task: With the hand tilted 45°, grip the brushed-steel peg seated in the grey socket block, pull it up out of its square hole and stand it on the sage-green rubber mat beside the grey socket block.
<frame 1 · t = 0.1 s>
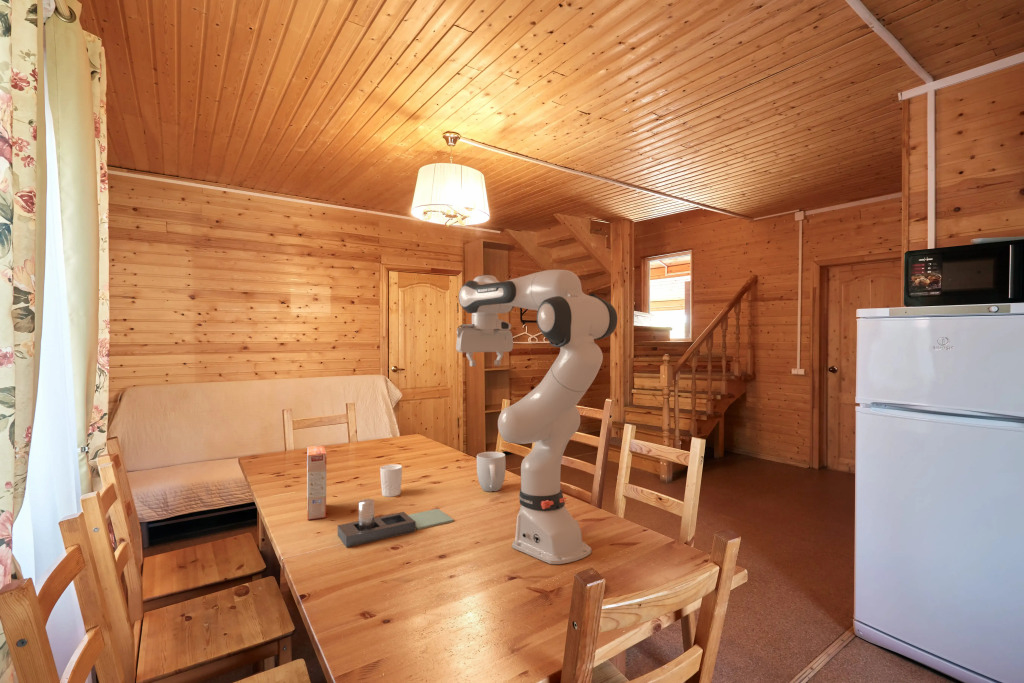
hand: (485, 365, 163), 48 cm above the table, tool pointing down, fingers open, 8 cm apart
mug: (491, 490, 184), on the table
steel peg: (366, 535, 142), resting in grey socket block
mat: (428, 519, 154), on the table
cracker box: (317, 513, 162), on the table
white cup: (391, 494, 181), on the table
grey socket block: (376, 533, 144), on the table
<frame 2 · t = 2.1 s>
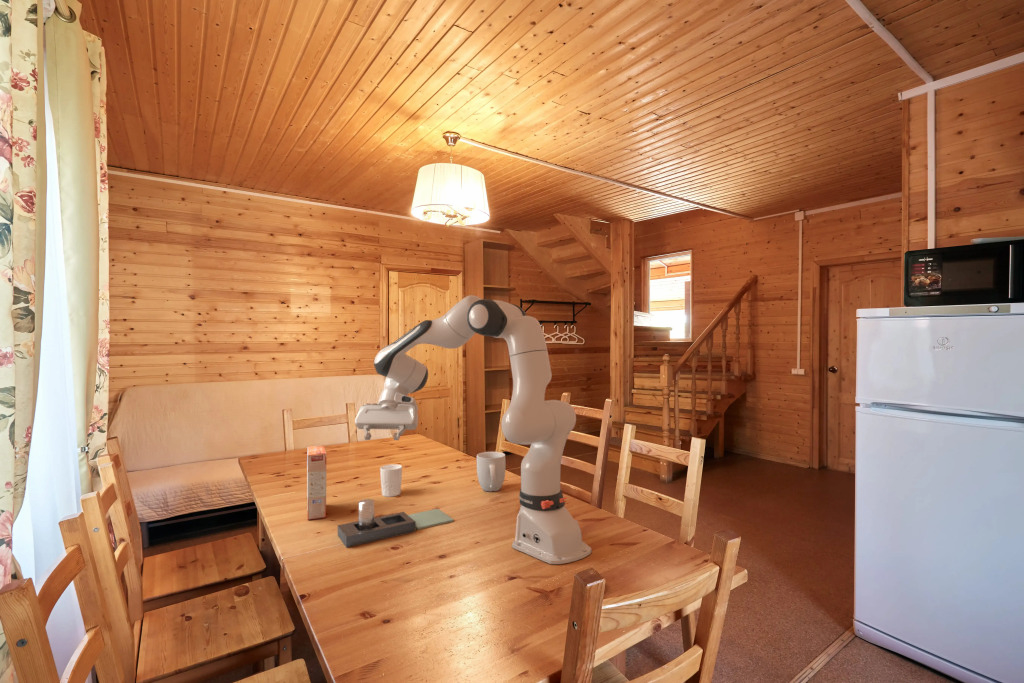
hand: (381, 439, 154), 26 cm above the table, tool tilted 45°, fingers open, 8 cm apart
nothing on the table moved.
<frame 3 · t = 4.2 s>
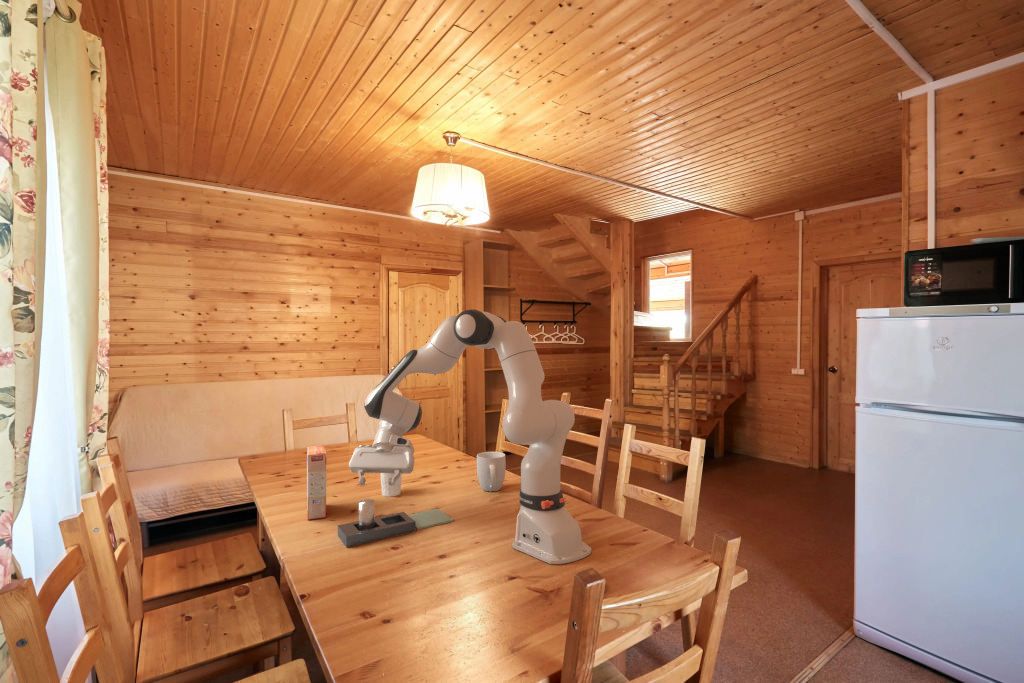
hand: (376, 484, 149), 13 cm above the table, tool tilted 45°, fingers open, 8 cm apart
nothing on the table moved.
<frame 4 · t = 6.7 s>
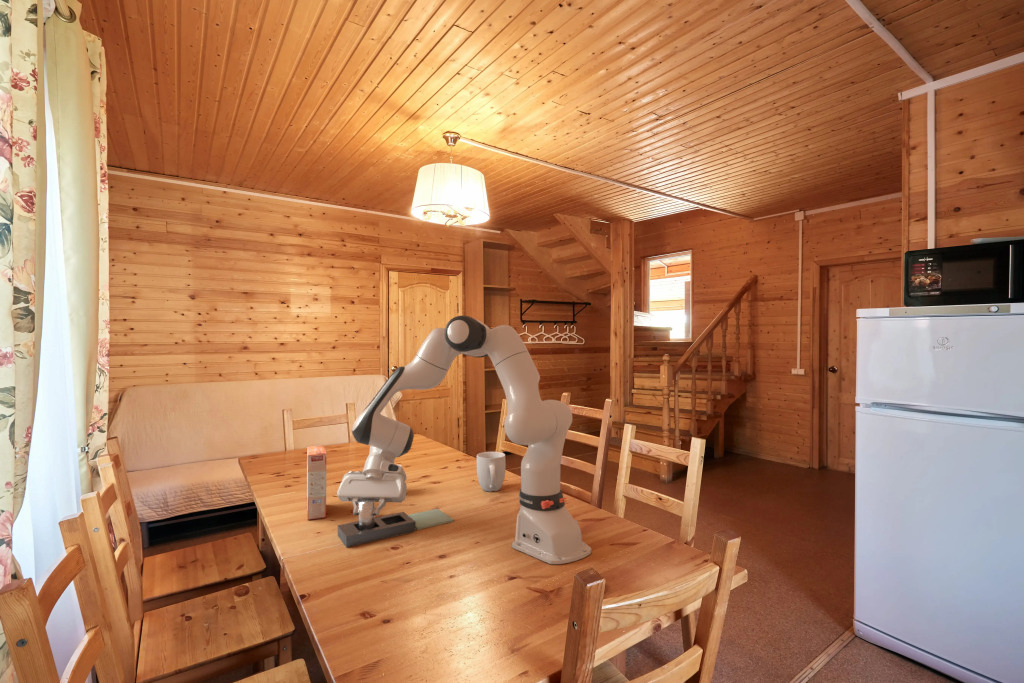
hand: (365, 514, 141), 6 cm above the table, tool tilted 45°, fingers closed on steel peg, 4 cm apart
steel peg: (366, 535, 142), resting in grey socket block, touching gripper
everything else where it was.
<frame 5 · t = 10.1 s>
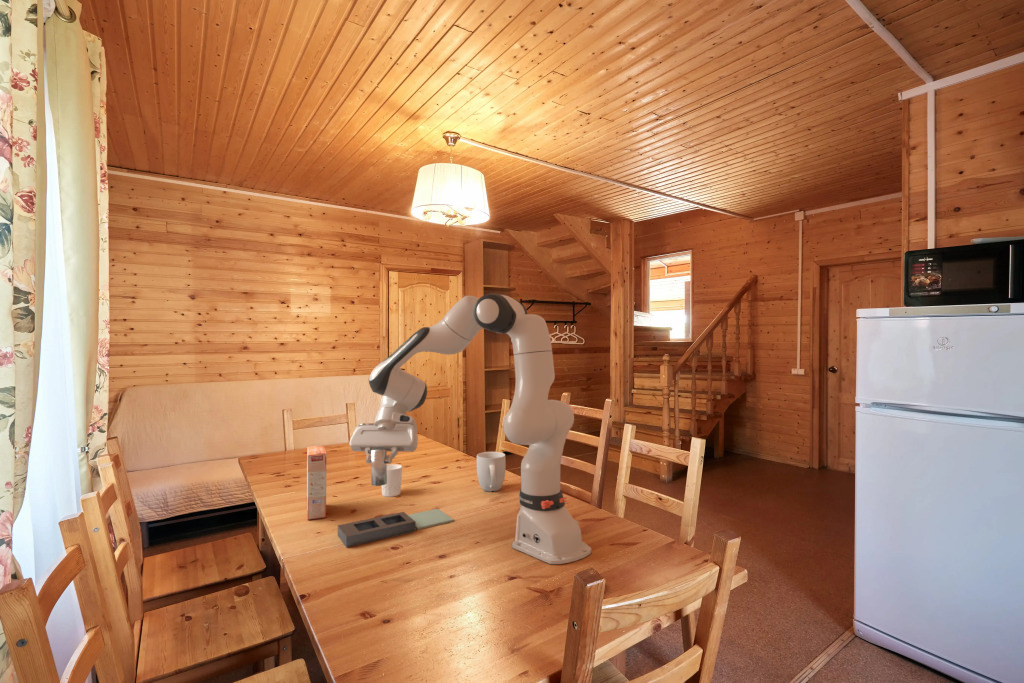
hand: (378, 462, 143), 21 cm above the table, tool tilted 45°, fingers closed on steel peg, 4 cm apart
steel peg: (379, 483, 144), point 15 cm above the table, touching gripper
everything else where it was.
when the fingers open (8 cm above the table, at t = 13.9 s): steel peg drops 1 cm, resting on mat.
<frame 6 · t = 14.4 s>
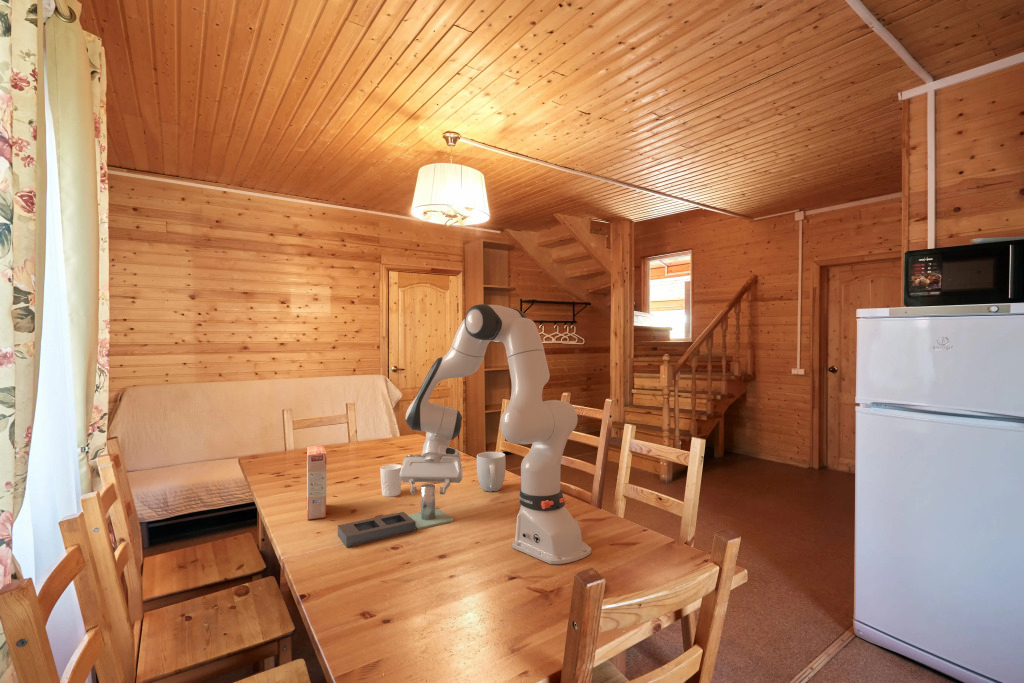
hand: (427, 493, 154), 8 cm above the table, tool tilted 45°, fingers open, 8 cm apart
steel peg: (428, 517, 154), point 1 cm above the table, touching mat
everything else where it was.
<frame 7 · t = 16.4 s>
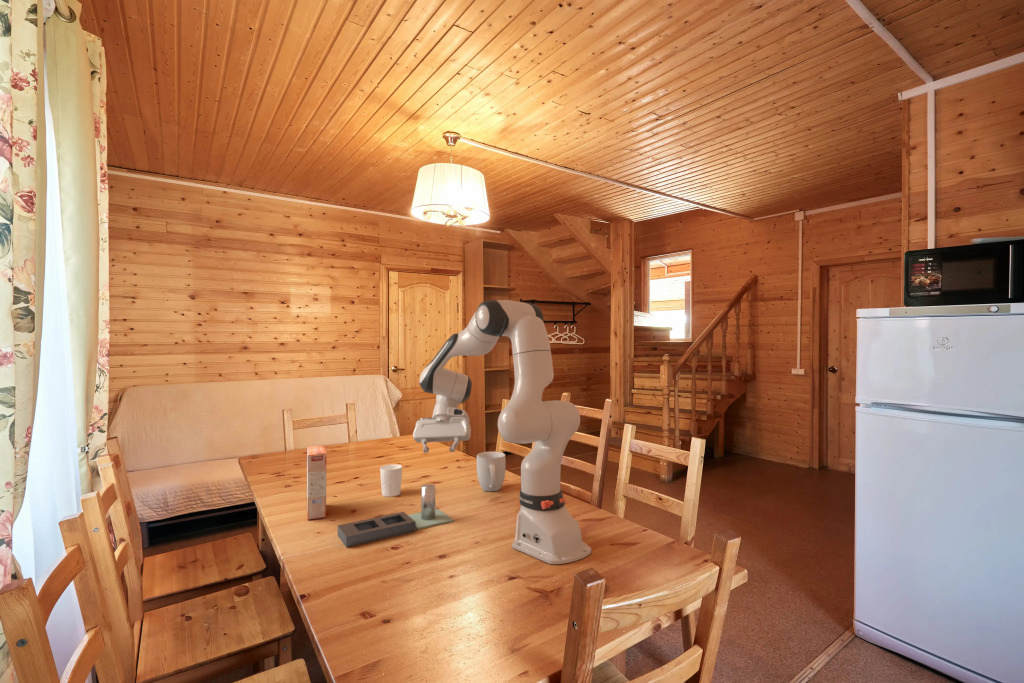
hand: (438, 451, 166), 19 cm above the table, tool tilted 40°, fingers open, 8 cm apart
nothing on the table moved.
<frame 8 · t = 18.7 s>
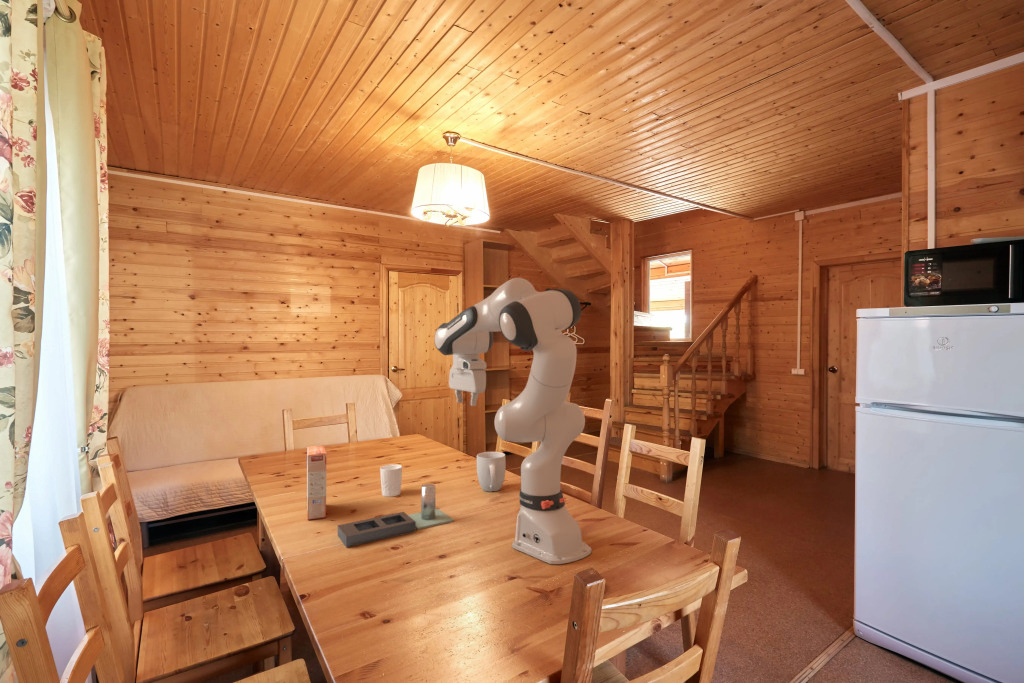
hand: (466, 404, 164), 35 cm above the table, tool pointing down, fingers open, 8 cm apart
nothing on the table moved.
at the end: steel peg inside the target area (0.1 cm from its centre), point 0.6 cm above the table; steel peg tilted 1°; the gripper is holding nothing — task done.
